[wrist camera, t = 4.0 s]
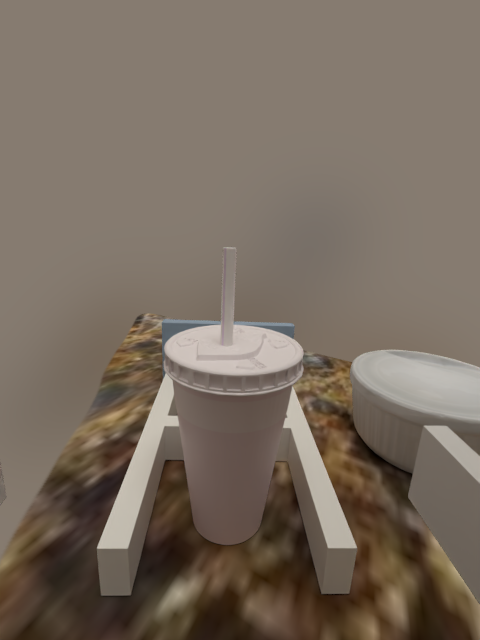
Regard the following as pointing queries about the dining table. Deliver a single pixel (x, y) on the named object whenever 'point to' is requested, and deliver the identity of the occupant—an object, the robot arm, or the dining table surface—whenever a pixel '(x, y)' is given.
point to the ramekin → (413, 401)
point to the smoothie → (230, 414)
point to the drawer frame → (165, 444)
